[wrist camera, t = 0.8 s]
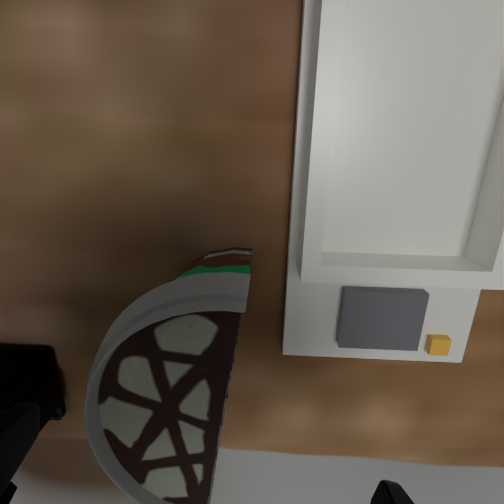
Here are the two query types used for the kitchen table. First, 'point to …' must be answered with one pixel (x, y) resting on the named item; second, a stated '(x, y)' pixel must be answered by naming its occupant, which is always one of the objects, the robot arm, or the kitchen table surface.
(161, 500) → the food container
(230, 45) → the kitchen table surface
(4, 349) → the robot arm
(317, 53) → the dock
